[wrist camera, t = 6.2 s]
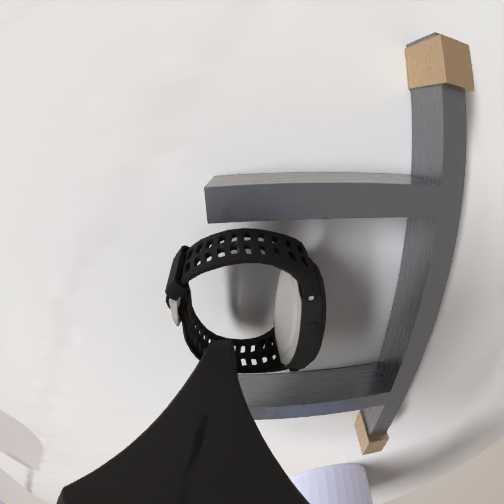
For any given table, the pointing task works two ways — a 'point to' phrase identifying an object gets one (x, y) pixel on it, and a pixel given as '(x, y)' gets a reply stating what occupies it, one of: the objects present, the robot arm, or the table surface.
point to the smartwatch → (286, 302)
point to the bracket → (373, 206)
